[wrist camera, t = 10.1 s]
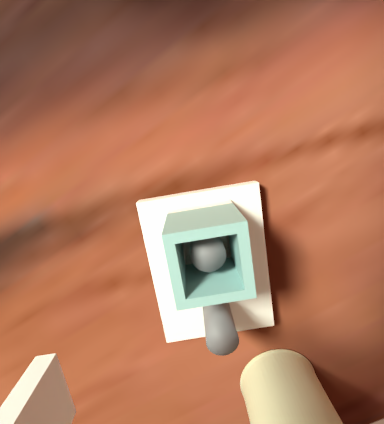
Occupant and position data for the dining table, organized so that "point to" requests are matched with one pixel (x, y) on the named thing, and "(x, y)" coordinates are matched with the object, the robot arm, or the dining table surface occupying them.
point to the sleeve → (204, 229)
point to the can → (285, 390)
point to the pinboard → (209, 269)
